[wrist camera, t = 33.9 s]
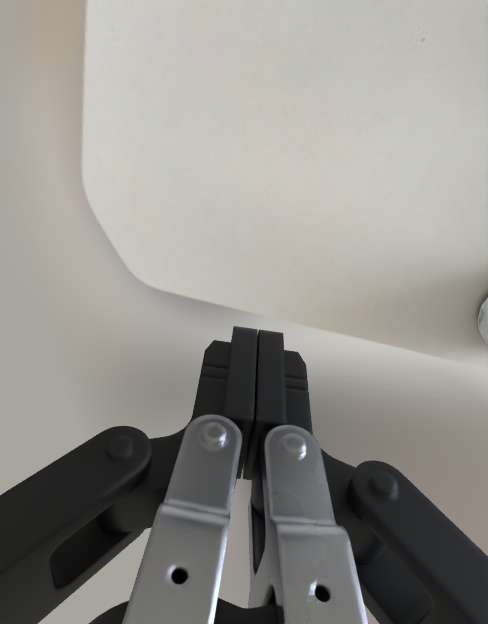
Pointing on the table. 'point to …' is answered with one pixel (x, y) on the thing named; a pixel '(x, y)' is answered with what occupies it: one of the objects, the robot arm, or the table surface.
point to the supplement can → (483, 321)
